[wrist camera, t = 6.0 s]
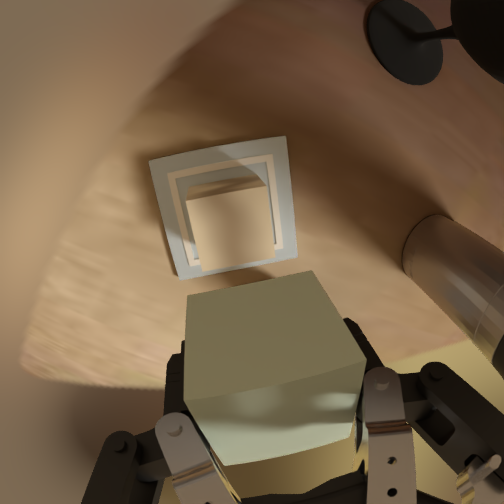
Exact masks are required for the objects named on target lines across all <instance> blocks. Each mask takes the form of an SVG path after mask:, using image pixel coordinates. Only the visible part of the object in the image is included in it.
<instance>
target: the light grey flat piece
mask: <svg viewBox="0 0 504 504" xmlns="http://www.w3.org/2000/svg"><path fill="white" fill-rule="evenodd" d="M148 162H149V166H150V171H151V175H152V180H153V184H154V188H155V192H156V196H157V200H158V204H159V208H160V212H161V216H162V220H163V224H164V228H165V231H166V235H167V239H168V242H169V246H170V249H171V253H172V256H173V260H174V263H175V267H176V270H177V273H178V277H179V280H185V279H191V278H196V277H201V276H206V275H211V274H217V273H222V272H227V271H232V270H237V269H242V268H247V267H252V266H257V265H263V264H268V263H273V262H277V261H282V260H287V259H292V258H297V257H298V255H297V242H296V230H295V218H294V207H293V197H292V187H291V177H290V168H289V159H288V150H287V142H286V136H278V137H270V138H263V139H256V140H249V141H243V142H237V143H231V144H225V145H219V146H214V147H208V148H203V149H198V150H193V151H188V152H184V153H179V154H175V155H170V156H166V157H161V158H157V159H153V160H149V161H148ZM254 174H257V175H258V176H259V177H260V179H261V180H262V181H263V182H264V183H265V185H266V186H267V192H268V200H269V208H270V216H271V224H272V232H273V241H274V249H275V258H271V259H266V260H260V261H255V262H250V263H245V264H240V265H235V266H230V267H225V268H220V269H214V270H209V271H204V272H202V268H201V264H200V260H199V256H198V252H197V248H196V244H195V239H194V235H193V231H192V227H191V222H190V218H189V214H188V209H187V205H186V197H187V193H188V188H189V187H190V186H195V185H200V184H205V183H210V182H215V181H220V180H225V179H231V178H237V177H242V176H248V175H254Z"/></svg>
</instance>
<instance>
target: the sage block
mask: <svg viewBox="0 0 504 504" xmlns="http://www.w3.org/2000/svg"><path fill="white" fill-rule="evenodd" d="M366 361H367V359H366V357H365V356H364V354H363V352H362V351H361V349H360V347H359V346H358V344H357V342H356V341H355V339H354V337H353V336H352V334H351V332H350V331H349V329H348V327H347V326H346V324H345V322H344V321H343V319H342V317H341V316H340V314H339V313H338V311H337V309H336V308H335V306H334V305H333V303H332V301H331V300H330V298H329V297H328V295H327V293H326V292H325V290H324V289H323V287H322V285H321V284H320V282H319V281H318V279H317V277H316V276H315V274H314V273H313V271H312V270H311V271H306V272H302V273H297V274H293V275H288V276H283V277H278V278H274V279H269V280H264V281H259V282H254V283H249V284H244V285H239V286H234V287H229V288H224V289H219V290H214V291H209V292H204V293H198V294H193V295H188V296H187V309H186V329H185V355H184V402H185V404H186V406H187V407H188V409H189V411H190V412H191V414H192V416H193V418H194V419H195V421H196V423H197V424H198V426H199V428H200V429H201V431H202V432H203V434H204V436H205V437H206V439H207V440H208V442H209V443H210V445H211V447H212V448H213V450H214V451H215V453H216V454H217V456H218V457H219V459H220V460H221V462H222V463H223V464H224V466H226V465H233V464H241V463H247V462H253V461H259V460H264V459H269V458H274V457H279V456H284V455H288V454H292V453H296V452H300V451H304V450H308V449H312V448H315V447H319V446H322V445H326V444H329V443H333V442H336V441H339V440H342V439H345V438H348V437H349V435H350V432H351V428H352V424H353V420H354V416H355V412H356V408H357V404H358V400H359V395H360V391H361V386H362V381H363V376H364V371H365V366H366Z"/></svg>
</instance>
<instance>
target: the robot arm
mask: <svg viewBox="0 0 504 504" xmlns="http://www.w3.org/2000/svg"><path fill="white" fill-rule="evenodd" d="M402 264H403V269H404V271H405V273H406V274H407V275H408V276H409V278H411V279H412V280H413V281H414V282H415V283H416V284H417V285H418V286H419V287H420V288H421V289H422V290H423V291H424V292H425V293H426V294H427V295H428V296H429V297H430V298H431V299H432V300H433V301H434V302H435V303H436V304H437V305H438V306H439V307H440V308H441V309H442V310H443V311H444V312H445V313H446V314H447V315H448V317H449V318H450V319H451V320H452V321H453V322H454V323H455V324H456V325H457V326H458V327H459V328H460V329H461V330H462V331H463V332H464V334H465V335H466V336H467V337H468V338H469V339H470V340H471V341H472V342H473V343H474V344H475V346H476V347H477V348H478V349H479V350H480V351H481V352H482V354H483V355H484V356H485V357H486V358H487V359H488V360H489V361H490V363H491V364H492V365H493V366H494V367H495V369H496V370H497V371H498V372H499V374H500V375H501V376H502V378H503V379H504V252H503V251H501V250H500V249H498V248H497V247H495V246H494V245H492V244H491V243H489V242H488V241H486V240H485V239H483V238H482V237H480V236H479V235H477V234H475V233H474V232H472V231H471V230H469V229H467V228H466V227H464V226H462V225H461V224H459V223H457V222H453V221H452V220H450V219H448V218H446V217H444V216H442V215H432V216H429V217H427V218H425V219H424V220H422V221H421V222H420V223H419V224H418V225H417V226H416V227H415V228H414V230H413V231H412V232H411V234H410V236H409V237H408V239H407V241H406V244H405V247H404V251H403V256H402ZM343 321H344V322H345V324H346V326H347V327H348V329H349V331H350V332H351V334H352V336H353V337H354V339H355V341H356V342H357V344H358V346H359V347H360V349H361V351H362V352H363V354H364V356H365V357H366V359H367V361H366V366H365V371H364V376H363V381H362V386H361V391H360V395H359V400H358V404H357V408H356V415H355V448H354V449H355V450H354V461H353V467H352V472H351V473H348V474H346V475H343V476H339V477H336V478H333V479H330V480H329V481H327V482H325V483H323V484H321V485H320V486H318V487H316V488H314V489H312V490H310V491H308V492H306V493H303V494H268V495H262V496H256V497H249V498H243V499H240V498H239V496H238V495H237V494H236V492H235V491H234V489H233V488H232V486H231V485H230V483H229V482H228V480H227V478H226V477H225V475H224V473H223V472H222V470H221V468H220V466H219V465H218V463H217V461H216V459H215V458H214V456H213V454H212V452H211V451H210V443H209V442H208V440H207V439H206V437H205V436H204V434H203V432H202V431H201V429H200V428H199V426H198V424H197V423H196V421H195V419H194V418H193V416H192V414H191V412H190V411H189V409H188V407H187V406H186V404H185V402H184V355H185V340H183V341H182V344H181V353H179V354H172V356H171V358H170V360H169V361H168V363H167V370H166V375H167V376H166V384H165V400H164V415H163V417H162V418H161V419H160V420H159V421H158V422H157V424H156V427H155V428H153V429H152V430H150V431H147V432H144V433H141V434H138V435H135V436H133V435H132V434H131V433H129V432H126V431H117V432H114V433H112V434H111V435H109V436H108V438H107V439H106V440H105V442H104V445H103V447H102V450H101V452H100V455H99V457H98V460H97V462H96V465H95V467H94V470H93V472H92V475H91V478H90V480H89V483H88V486H87V489H86V491H85V494H84V497H83V499H82V502H81V504H158V503H159V499H160V495H161V491H162V487H163V484H164V479H165V478H166V477H169V476H172V475H173V480H172V484H173V487H174V489H175V492H176V494H177V496H178V498H179V500H180V502H181V504H453V503H451V502H447V501H445V500H442V499H439V498H437V497H434V496H432V495H429V494H427V493H424V492H422V491H419V490H417V489H416V472H415V471H416V470H415V455H414V445H413V434H412V428H413V429H414V430H415V431H416V432H417V433H418V434H419V435H420V436H421V437H422V438H423V439H424V440H425V441H426V442H427V443H428V445H429V446H430V447H431V448H432V449H433V450H434V451H435V452H436V453H437V454H438V455H439V456H440V457H441V458H442V459H443V460H444V461H445V462H446V463H447V464H448V465H449V466H450V467H451V468H452V469H453V470H454V471H455V472H456V473H457V475H458V477H457V480H456V487H457V491H458V492H459V493H460V495H461V498H462V503H461V504H502V502H504V415H503V414H502V413H501V412H500V411H499V410H498V409H497V408H496V407H494V406H493V405H492V404H491V403H490V402H489V401H487V400H486V399H485V398H484V397H483V396H482V395H480V394H479V393H478V392H477V391H476V390H475V389H474V388H472V387H471V386H470V385H469V384H468V383H467V382H466V381H464V380H463V379H462V378H461V377H460V376H458V375H457V374H456V373H455V372H454V371H453V370H451V369H450V368H449V367H448V366H447V365H445V364H443V363H441V362H430V363H427V364H426V365H424V366H423V367H422V369H421V371H420V372H418V373H408V374H398V373H396V372H395V371H394V370H392V369H390V368H388V367H385V366H384V365H383V364H382V362H381V360H380V359H379V357H378V356H377V354H376V352H375V351H374V349H373V348H372V346H371V344H370V343H369V341H367V338H366V337H365V335H364V334H363V332H362V330H361V329H360V327H359V326H358V324H357V323H355V322H354V321H352V320H351V319H349V318H345V319H343ZM406 422H407V423H408V424H407V423H406ZM411 427H412V428H411Z"/></svg>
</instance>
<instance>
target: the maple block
mask: <svg viewBox="0 0 504 504" xmlns="http://www.w3.org/2000/svg"><path fill="white" fill-rule="evenodd" d="M186 205H187V209H188V214H189V218H190V222H191V227H192V231H193V235H194V239H195V244H196V248H197V252H198V256H199V260H200V264H201V268H202V272H204V271H209V270H214V269H220V268H225V267H230V266H235V265H240V264H245V263H250V262H255V261H260V260H266V259H271V258H275V249H274V241H273V232H272V224H271V216H270V208H269V200H268V192H267V186H266V185H265V183H264V182H263V181H262V180H261V179H260V177H259V176H258V175H257V174H254V175H248V176H242V177H237V178H231V179H225V180H220V181H215V182H210V183H205V184H200V185H195V186H190V187H189V188H188V193H187V197H186Z"/></svg>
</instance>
